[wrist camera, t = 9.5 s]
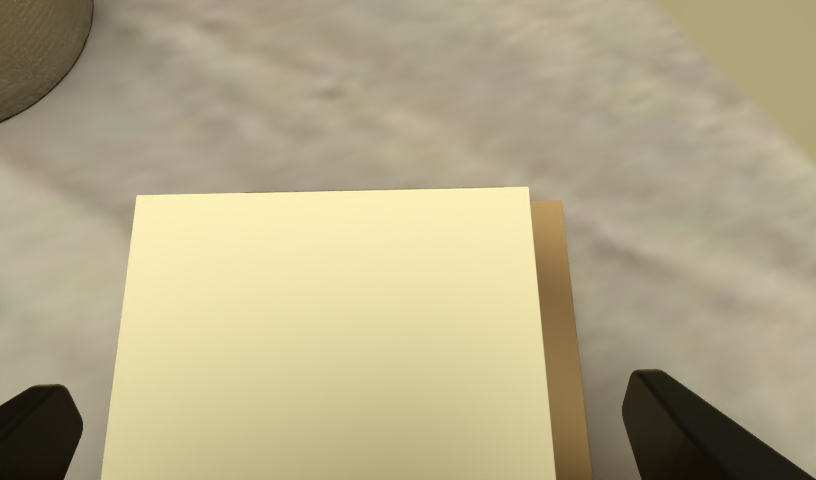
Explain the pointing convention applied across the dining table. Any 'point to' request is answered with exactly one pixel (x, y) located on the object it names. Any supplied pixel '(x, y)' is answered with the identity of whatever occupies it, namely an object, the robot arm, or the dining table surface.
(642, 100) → the dining table surface
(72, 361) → the dining table surface
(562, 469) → the keyhole frame
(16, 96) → the pillar candle
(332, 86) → the dining table surface
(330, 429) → the panel block
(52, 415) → the robot arm
